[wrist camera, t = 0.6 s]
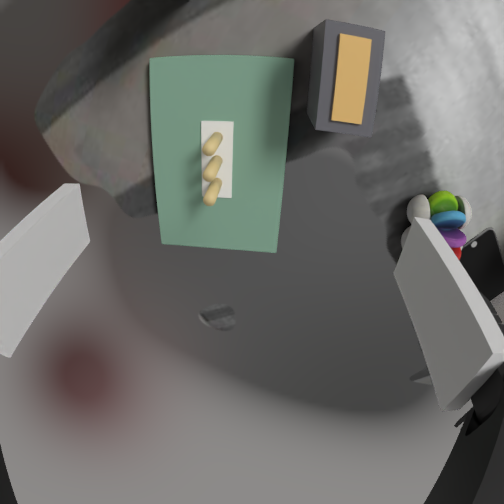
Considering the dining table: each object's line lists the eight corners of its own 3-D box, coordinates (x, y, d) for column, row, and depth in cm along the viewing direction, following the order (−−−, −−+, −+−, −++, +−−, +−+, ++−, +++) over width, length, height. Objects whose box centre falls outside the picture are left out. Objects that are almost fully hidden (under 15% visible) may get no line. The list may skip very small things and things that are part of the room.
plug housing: (313, 28, 25) (326, 18, 18) (359, 35, 25) (386, 31, 18) (306, 112, 30) (315, 130, 23) (350, 118, 30) (372, 138, 23)
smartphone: (493, 225, 34) (510, 286, 40) (490, 222, 35) (508, 284, 41) (451, 255, 38) (475, 311, 43) (449, 252, 38) (474, 308, 44)
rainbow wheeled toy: (394, 251, 39) (411, 288, 33) (407, 181, 33) (432, 211, 27) (448, 250, 38) (470, 285, 32) (465, 185, 32) (495, 214, 26)
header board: (153, 57, 27) (131, 60, 22) (293, 58, 27) (297, 59, 22) (164, 238, 40) (150, 266, 35) (276, 247, 39) (275, 276, 35)
